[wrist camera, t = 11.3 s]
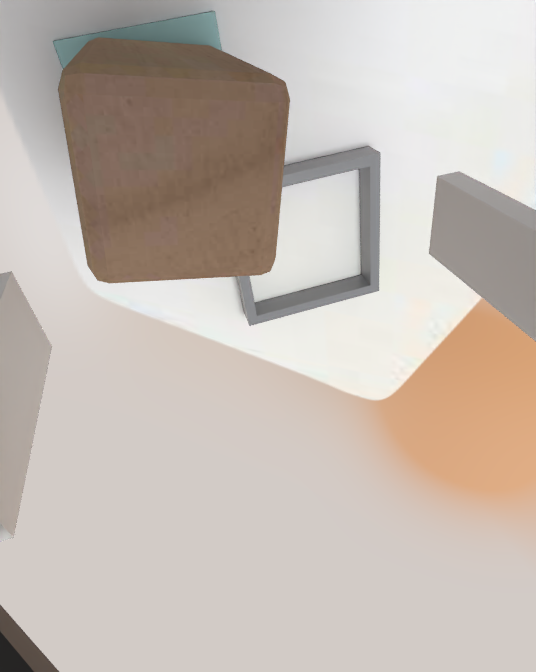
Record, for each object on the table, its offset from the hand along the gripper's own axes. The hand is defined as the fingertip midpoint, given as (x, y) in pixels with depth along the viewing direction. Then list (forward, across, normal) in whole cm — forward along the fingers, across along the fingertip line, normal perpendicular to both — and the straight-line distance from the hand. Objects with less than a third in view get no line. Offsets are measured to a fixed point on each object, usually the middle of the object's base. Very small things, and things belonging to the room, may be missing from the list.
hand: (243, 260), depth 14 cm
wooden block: (+29, -1, -1) cm, 29 cm away
